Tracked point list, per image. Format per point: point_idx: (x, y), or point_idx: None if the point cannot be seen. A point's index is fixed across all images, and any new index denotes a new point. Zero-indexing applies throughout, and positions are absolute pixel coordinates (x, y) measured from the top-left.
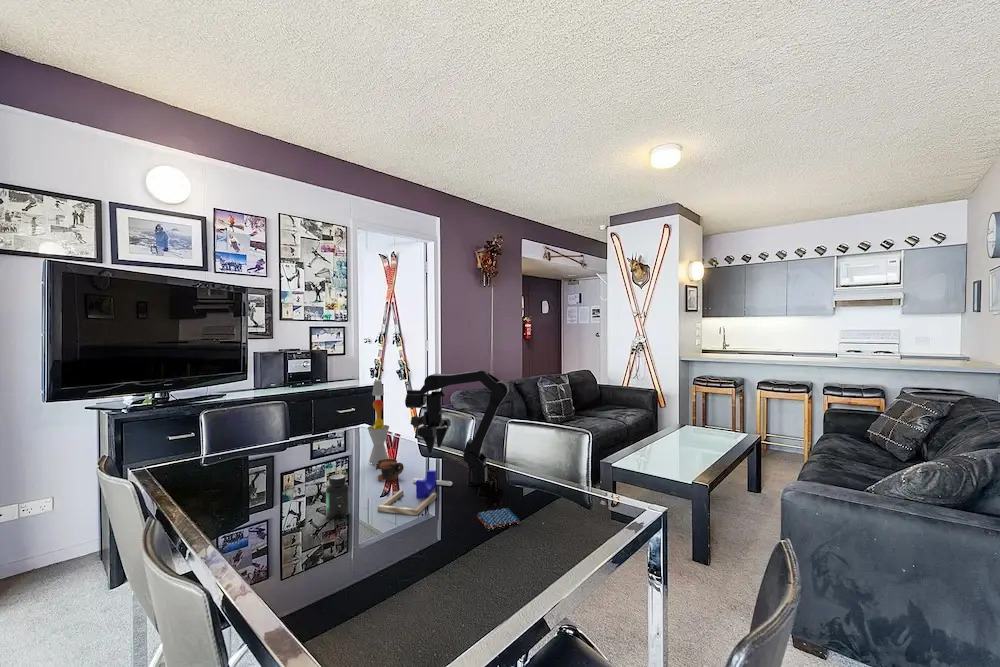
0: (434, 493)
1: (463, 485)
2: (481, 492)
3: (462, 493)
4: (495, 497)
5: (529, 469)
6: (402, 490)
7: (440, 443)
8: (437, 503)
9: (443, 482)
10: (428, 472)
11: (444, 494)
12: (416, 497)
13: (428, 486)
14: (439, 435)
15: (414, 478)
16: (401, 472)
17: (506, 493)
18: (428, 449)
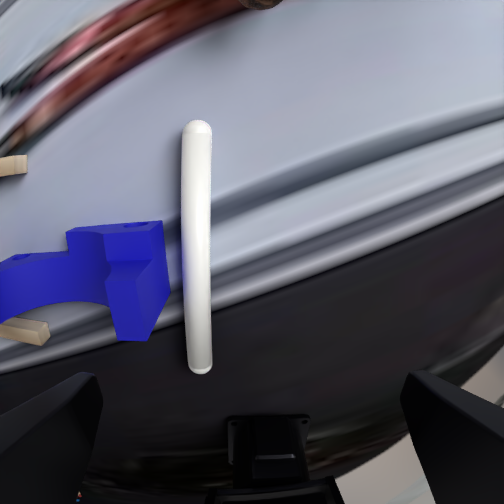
0: (35, 339)
1: (225, 403)
2: (171, 460)
3: (133, 415)
4: (148, 485)
5: (414, 483)
6: (10, 172)
7: (416, 434)
8: (17, 352)
9: (187, 334)
10: (108, 290)
11: (91, 358)
12: (13, 256)
13: (90, 282)
14: (489, 498)
15: (194, 130)
16: (256, 9)
17: (192, 500)
18: (48, 401)
